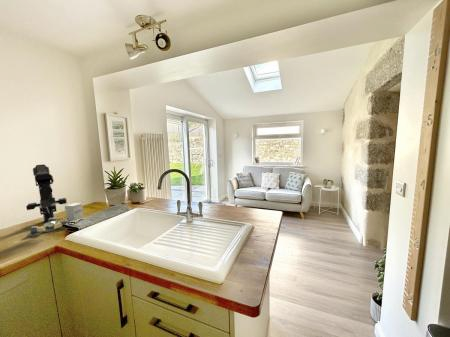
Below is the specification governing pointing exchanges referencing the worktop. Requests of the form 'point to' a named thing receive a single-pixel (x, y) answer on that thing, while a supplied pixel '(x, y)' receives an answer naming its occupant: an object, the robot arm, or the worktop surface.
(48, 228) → the tribrach
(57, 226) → the knob
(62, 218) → the knob
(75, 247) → the worktop surface
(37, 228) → the knob
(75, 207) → the supplement box
